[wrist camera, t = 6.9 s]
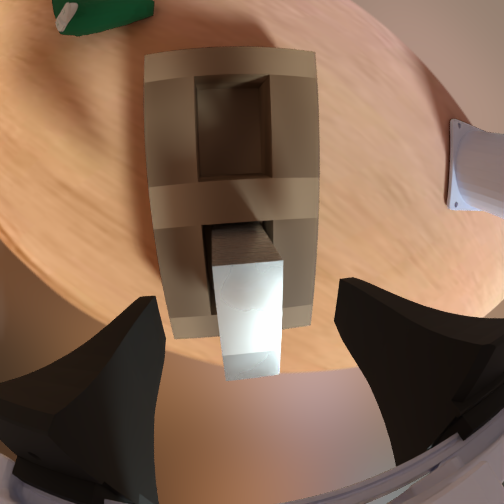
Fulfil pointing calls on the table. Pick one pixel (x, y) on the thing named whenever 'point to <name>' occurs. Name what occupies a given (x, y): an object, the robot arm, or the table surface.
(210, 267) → the tan divided tray
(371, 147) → the table surface
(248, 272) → the white rectangular pillar
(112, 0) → the green elongated piece
